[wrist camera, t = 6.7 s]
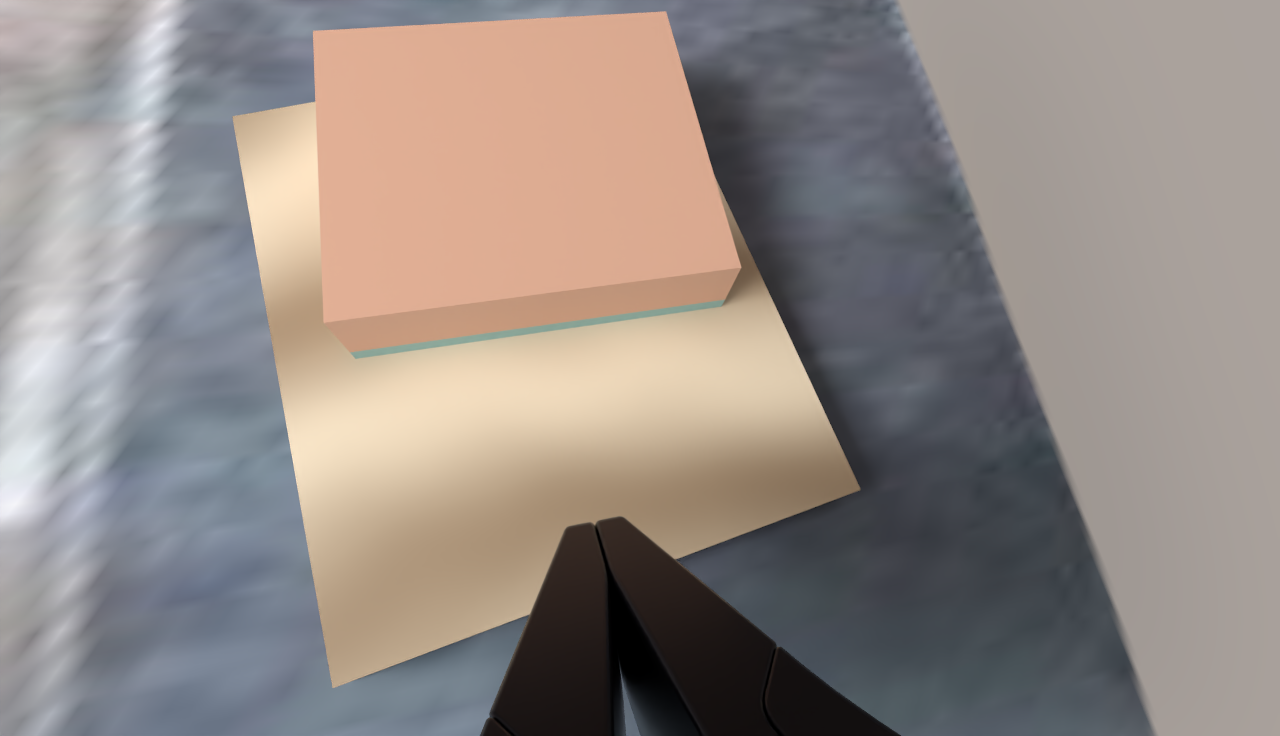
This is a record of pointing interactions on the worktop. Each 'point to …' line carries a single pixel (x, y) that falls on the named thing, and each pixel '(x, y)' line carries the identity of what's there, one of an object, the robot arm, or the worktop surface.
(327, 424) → the beech board
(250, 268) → the worktop surface
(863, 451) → the worktop surface
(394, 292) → the terracotta tile
